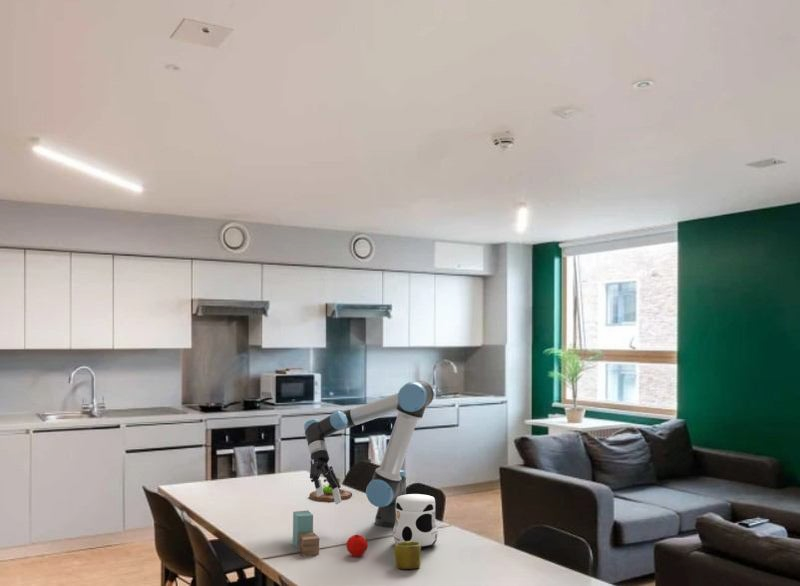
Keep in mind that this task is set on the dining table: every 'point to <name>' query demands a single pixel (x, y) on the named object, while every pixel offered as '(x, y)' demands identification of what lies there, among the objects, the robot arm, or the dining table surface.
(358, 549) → the apple
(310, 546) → the brown block
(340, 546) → the dining table surface
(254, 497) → the dining table surface
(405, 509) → the milk container
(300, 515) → the teal pillar
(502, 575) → the dining table surface
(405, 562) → the mug
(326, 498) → the plant
